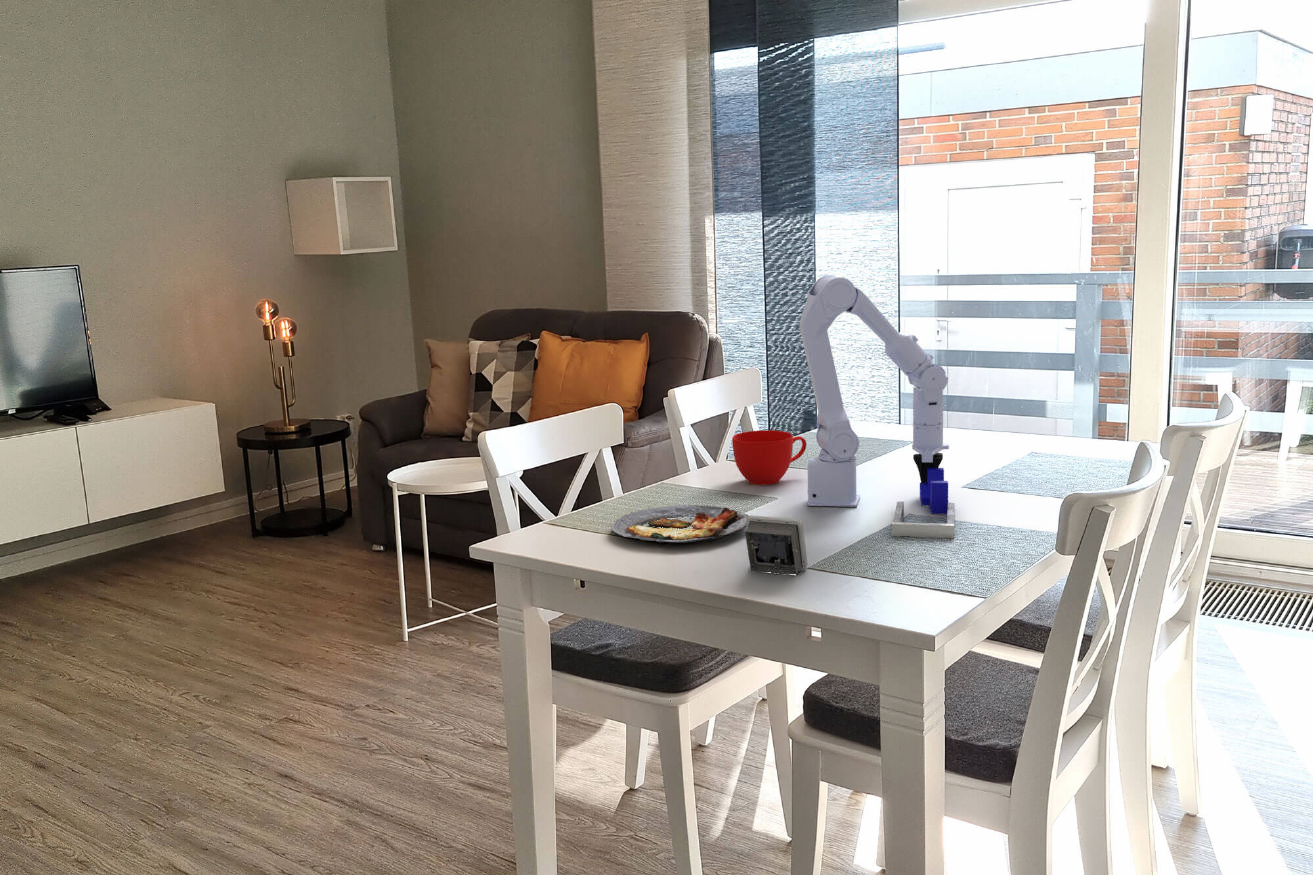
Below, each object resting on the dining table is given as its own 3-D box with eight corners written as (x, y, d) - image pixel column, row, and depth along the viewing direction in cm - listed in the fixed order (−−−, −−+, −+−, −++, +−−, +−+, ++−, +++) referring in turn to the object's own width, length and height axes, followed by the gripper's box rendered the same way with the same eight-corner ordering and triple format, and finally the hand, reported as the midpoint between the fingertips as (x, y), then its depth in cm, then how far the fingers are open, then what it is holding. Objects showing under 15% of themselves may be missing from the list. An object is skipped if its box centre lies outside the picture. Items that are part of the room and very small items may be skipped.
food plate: (770, 521, 202) (769, 502, 201) (713, 557, 182) (711, 537, 182) (655, 512, 215) (654, 495, 214) (590, 545, 195) (588, 526, 194)
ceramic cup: (821, 481, 230) (820, 435, 229) (750, 491, 224) (748, 444, 223) (792, 469, 242) (791, 426, 240) (723, 479, 236) (722, 434, 234)
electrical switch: (808, 569, 173) (805, 515, 171) (799, 582, 169) (795, 527, 166) (753, 564, 177) (750, 511, 175) (742, 577, 173) (738, 522, 170)
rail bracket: (892, 536, 189) (892, 524, 188) (897, 512, 203) (897, 501, 203) (953, 538, 186) (954, 525, 186) (954, 514, 200) (954, 502, 200)
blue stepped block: (919, 497, 213) (919, 467, 212) (943, 497, 212) (943, 467, 211) (923, 514, 202) (923, 482, 200) (948, 514, 201) (948, 482, 200)
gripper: (948, 430, 204) (948, 499, 206) (949, 416, 217) (949, 481, 220) (910, 429, 206) (910, 499, 208) (913, 416, 219) (913, 481, 222)
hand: (928, 490), depth 214 cm, fingers closed, pressing on blue stepped block
